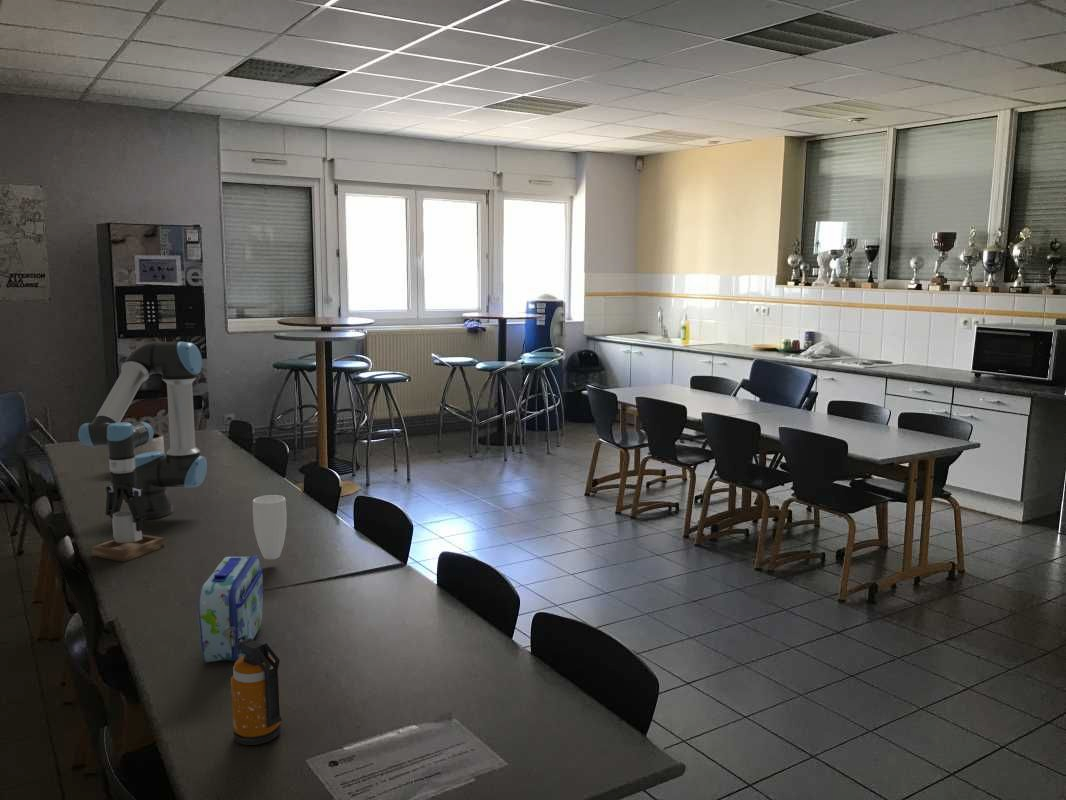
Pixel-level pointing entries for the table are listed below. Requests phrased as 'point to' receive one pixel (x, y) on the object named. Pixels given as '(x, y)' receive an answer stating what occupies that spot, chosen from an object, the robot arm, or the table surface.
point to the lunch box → (230, 607)
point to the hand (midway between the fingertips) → (127, 538)
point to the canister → (255, 694)
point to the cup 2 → (270, 524)
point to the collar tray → (127, 548)
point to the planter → (151, 445)
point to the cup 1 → (123, 526)
